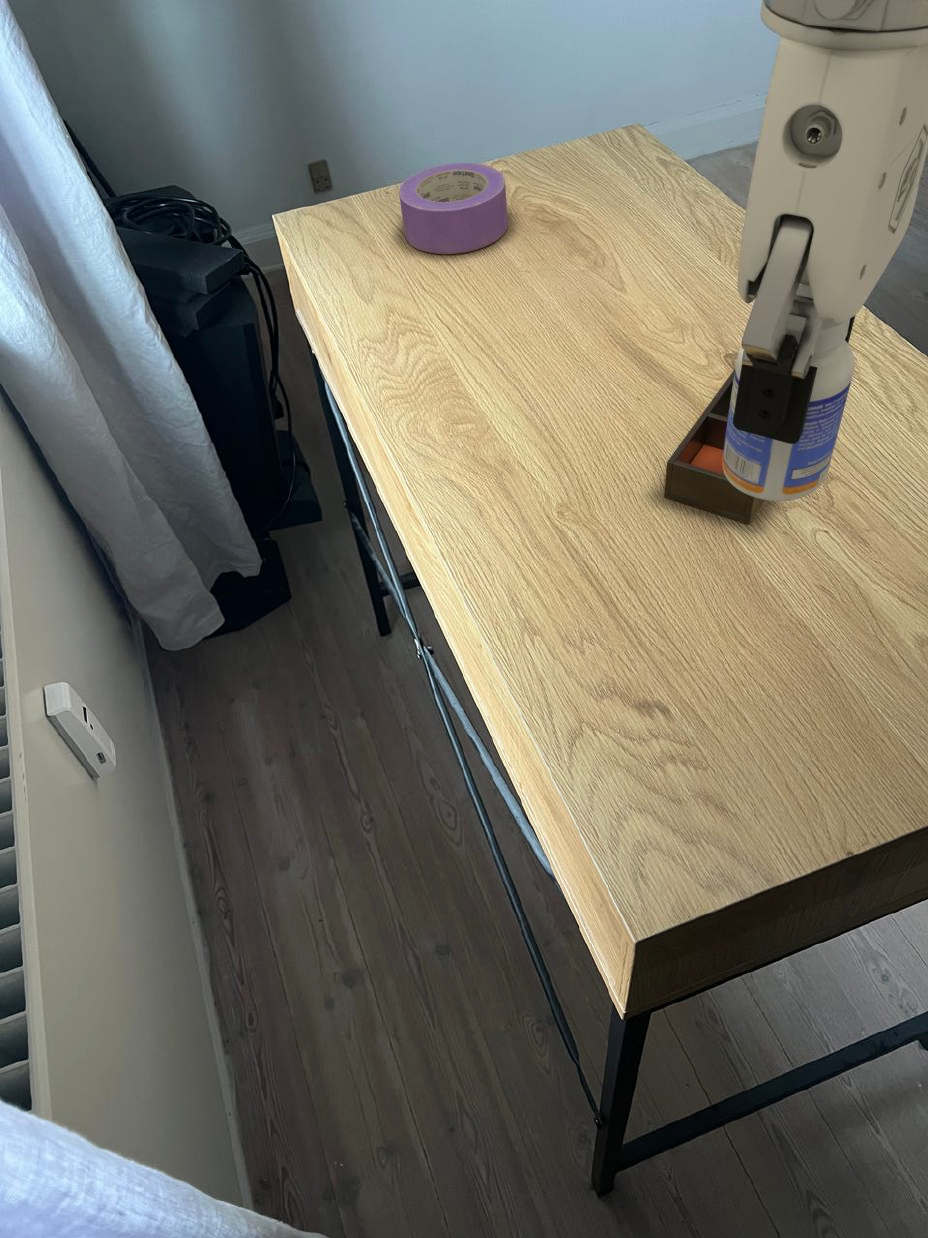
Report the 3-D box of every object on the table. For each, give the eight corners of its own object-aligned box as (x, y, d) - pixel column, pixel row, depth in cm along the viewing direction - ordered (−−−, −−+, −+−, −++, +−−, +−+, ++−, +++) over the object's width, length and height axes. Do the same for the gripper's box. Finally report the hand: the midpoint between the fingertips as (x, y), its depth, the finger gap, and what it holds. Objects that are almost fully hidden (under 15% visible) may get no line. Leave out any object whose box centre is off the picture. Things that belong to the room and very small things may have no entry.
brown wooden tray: (810, 424, 77) (818, 388, 75) (749, 524, 70) (755, 489, 68) (730, 403, 80) (735, 367, 78) (663, 497, 73) (666, 461, 71)
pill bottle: (825, 442, 51) (868, 276, 43) (826, 509, 47) (873, 342, 40) (722, 435, 52) (747, 272, 44) (716, 500, 48) (742, 335, 41)
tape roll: (404, 211, 109) (398, 167, 106) (503, 199, 109) (500, 155, 105) (406, 261, 102) (399, 216, 98) (512, 248, 101) (509, 202, 98)
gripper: (926, 67, 26) (806, 529, 40) (1045, -99, 35) (913, 325, 49) (677, 41, 29) (645, 479, 43) (845, -106, 38) (774, 296, 52)
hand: (788, 394), depth 46 cm, fingers closed on pill bottle, 5 cm apart
